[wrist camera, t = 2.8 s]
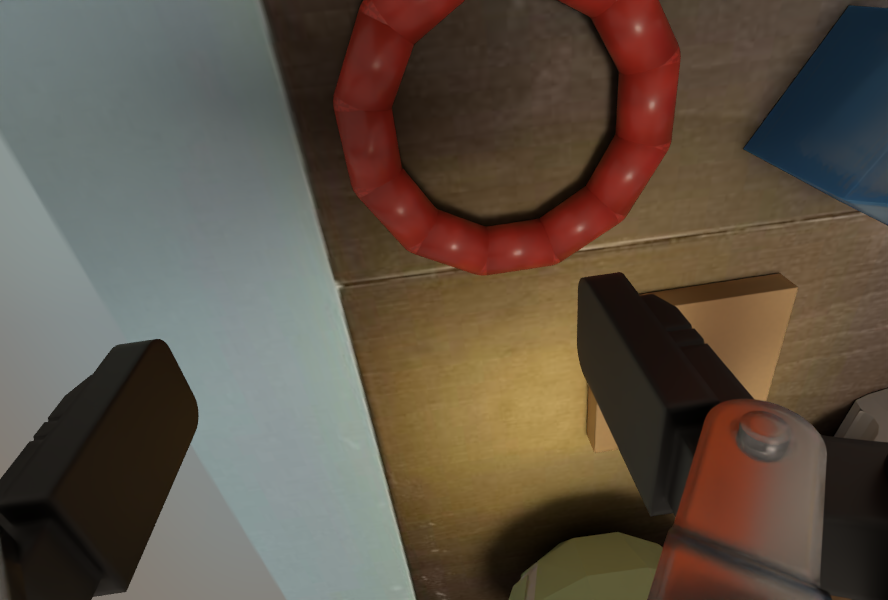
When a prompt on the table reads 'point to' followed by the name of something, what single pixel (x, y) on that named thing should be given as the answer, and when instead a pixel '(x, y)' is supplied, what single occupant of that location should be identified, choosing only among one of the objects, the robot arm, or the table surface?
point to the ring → (526, 242)
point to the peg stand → (727, 335)
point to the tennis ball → (592, 570)
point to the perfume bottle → (837, 116)
